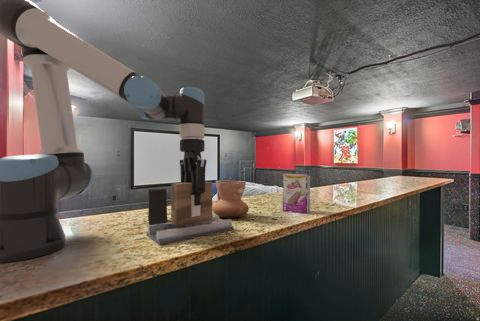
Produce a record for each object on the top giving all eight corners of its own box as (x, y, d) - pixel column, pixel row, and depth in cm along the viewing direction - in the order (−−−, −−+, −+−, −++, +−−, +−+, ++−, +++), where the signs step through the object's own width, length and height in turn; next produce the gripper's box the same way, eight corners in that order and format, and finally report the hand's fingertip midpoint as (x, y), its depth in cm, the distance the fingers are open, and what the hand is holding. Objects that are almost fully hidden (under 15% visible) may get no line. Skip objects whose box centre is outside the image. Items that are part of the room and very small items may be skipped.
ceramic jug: (257, 218, 96) (257, 181, 96) (224, 222, 88) (224, 182, 88) (234, 210, 111) (234, 179, 111) (204, 214, 103) (204, 180, 104)
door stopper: (167, 224, 85) (167, 189, 86) (148, 226, 83) (149, 190, 83) (164, 218, 94) (165, 187, 94) (148, 220, 92) (148, 187, 92)
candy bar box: (282, 211, 109) (282, 174, 109) (286, 209, 113) (286, 173, 113) (307, 214, 103) (307, 175, 103) (310, 212, 107) (310, 174, 107)
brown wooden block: (212, 220, 78) (212, 182, 78) (176, 226, 71) (176, 184, 71) (205, 217, 81) (206, 181, 81) (171, 223, 74) (171, 183, 74)
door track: (159, 245, 64) (159, 233, 64) (146, 235, 73) (146, 224, 73) (233, 229, 79) (233, 220, 79) (215, 222, 88) (215, 214, 88)
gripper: (217, 137, 72) (217, 218, 72) (190, 141, 85) (190, 209, 85) (194, 136, 67) (194, 221, 67) (169, 140, 81) (169, 211, 80)
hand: (192, 214), depth 76 cm, fingers closed on brown wooden block, 4 cm apart
